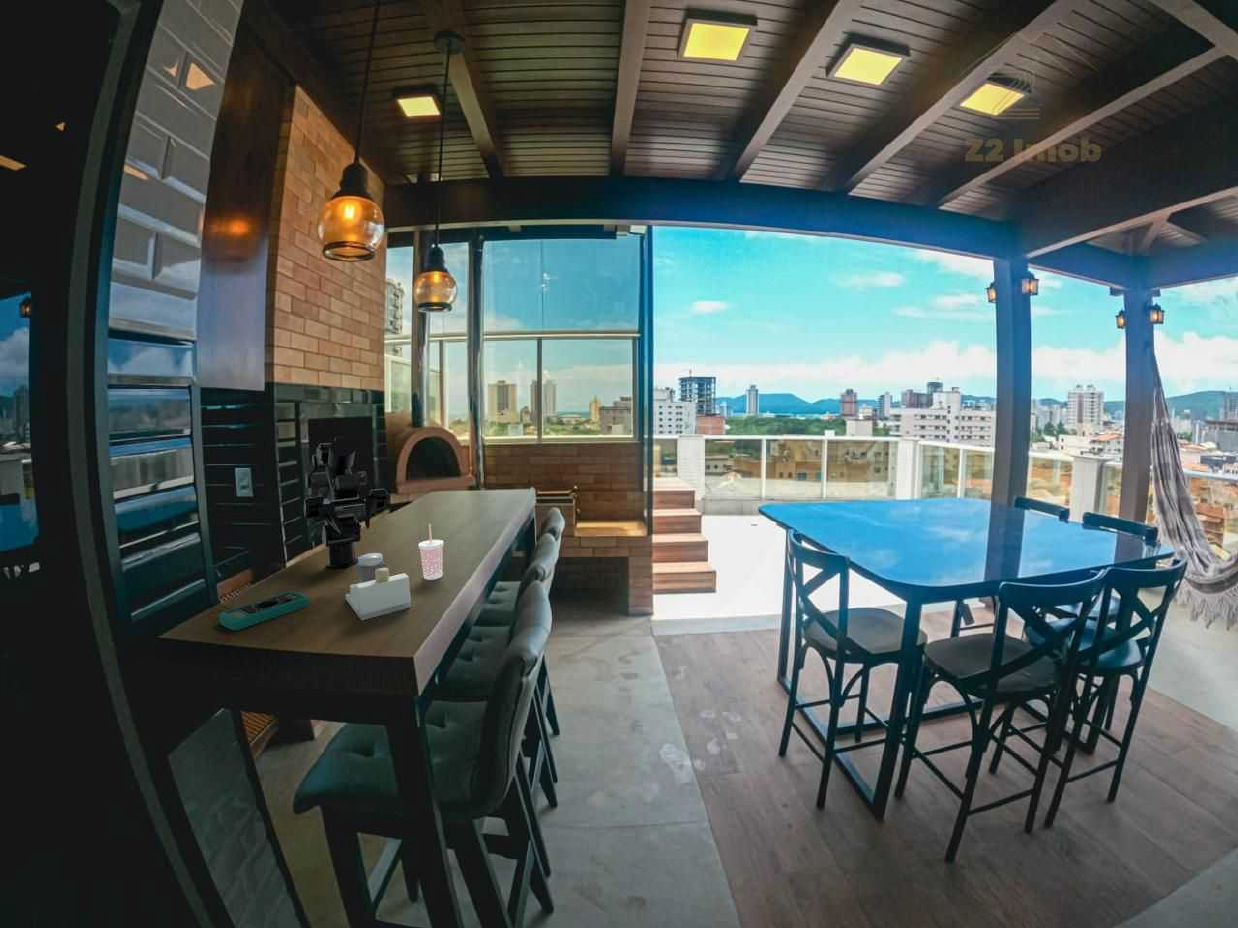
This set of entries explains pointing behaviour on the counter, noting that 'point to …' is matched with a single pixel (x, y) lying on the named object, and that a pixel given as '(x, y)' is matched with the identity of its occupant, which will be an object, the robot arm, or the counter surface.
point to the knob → (369, 566)
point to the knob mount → (380, 595)
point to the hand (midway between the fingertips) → (354, 530)
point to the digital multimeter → (262, 610)
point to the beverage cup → (432, 557)
